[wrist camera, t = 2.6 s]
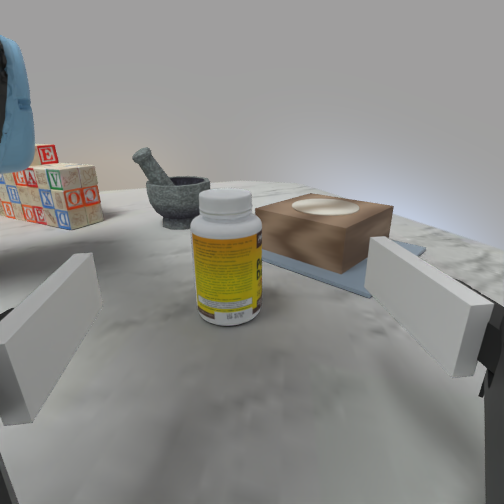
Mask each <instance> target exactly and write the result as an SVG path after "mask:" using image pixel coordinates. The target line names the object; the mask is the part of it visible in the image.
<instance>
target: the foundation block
mask: <svg viewBox="0 0 504 504" xmlns="http://www.w3.org/2000/svg"><path fill="white" fill-rule="evenodd" d="M392 213H393V206H390V205H383V204H377V203H370V202H364V201H357V200H351V199H344V198H338V197H331V196H325V195H318V194H312V193H310V194H307V195H303V196H299V197H296V198H292V199H288V200H285V201H281V202H277V203H274V204H270V205H266V206H263V207H259V208H255V215H256V216H258V217H259V218H260V220H261V222H262V249H264V250H267V251H270V252H273V253H276V254H279V255H282V256H285V257H288V258H291V259H295V260H298V261H301V262H304V263H307V264H310V265H313V266H316V267H319V268H322V269H326V270H329V271H332V272H335V273H338V274H343V273H344V272H346V271H347V270H349V269H350V268H352V267H353V266H355V265H357V264H358V263H360V262H361V261H363V260H364V259H366V258H367V257H368V251H369V243H370V237H381V236H385V237H387V238H389V232H390V226H391V220H392Z"/></svg>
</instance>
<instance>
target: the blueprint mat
mask: <svg viewBox="0 0 504 504" xmlns="http://www.w3.org/2000/svg"><path fill="white" fill-rule="evenodd" d="M392 241H393V242H395V243H397V244H398V245H400V246H401V247H403V248H405V249H406V250H408V251H410V252H411V253H413V254H414V255H416V256H420V255H421V254H422V253H423V252H424V251H425V250H426V247H421V246H417V245H412V244H408V243H403V242H399V241H394V240H392ZM367 259H368V257H367V258H366V259H364V260H363V261H361V262H360V263H358V264H357V265H355V266H353V267H352V268H350V269H349V270H347V271H346V272H344V273H343V274H338V273H335V272H332V271H329V270H326V269H322V268H319V267H316V266H313V265H310V264H307V263H304V262H301V261H298V260H295V259H291V258H288V257H285V256H282V255H279V254H276V253H273V252H270V251H267V250H264V249H262V261H265V262H268V263H271V264H274V265H276V266H279V267H282V268H285V269H288V270H291V271H294V272H296V273H299V274H302V275H305V276H308V277H311V278H313V279H316V280H319V281H322V282H325V283H328V284H330V285H333V286H336V287H339V288H342V289H345V290H347V291H350V292H353V293H356V294H359V295H362V296H364V297H367V298H370V297H371V296H372V295H371V294H370V293H369V292H368V291H367V289H366V288H365V287H364V284H365V276H366V267H367Z"/></svg>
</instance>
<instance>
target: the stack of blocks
mask: <svg viewBox="0 0 504 504" xmlns="http://www.w3.org/2000/svg"><path fill="white" fill-rule="evenodd" d="M97 184H98V182H97V176H96V171H95V166H94V165H82V164H69V163H59V162H58V157H57V153H56V149H55V145H54V144H35V154H34V159H33V162H32V164H31V165H30V166H29V167H28V168H27V169H25V170H23V171H20V172H13V173H5V174H0V216H5V217H9V218H13V219H18V220H22V221H29V222H34V223H39V224H44V225H49V226H54V227H59V228H63V229H68V230H73V229H77V228H80V227H83V226H87V225H90V224H94V223H97V222H100V221H103V220H104V219H103V213H102V208H101V204H100V203H101V201H100V196H99V190H98V186H97Z"/></svg>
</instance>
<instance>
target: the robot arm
mask: <svg viewBox="0 0 504 504" xmlns="http://www.w3.org/2000/svg"><path fill="white" fill-rule="evenodd" d="M30 103H31V101H30V90H29V84H28V78H27V73H26V69H25V64H24V60H23V56H22V53H21V50H20V48H19V46H18V45H17V43H16V42H15V41H13V40H11V39H8V38H5V37H3V36H2V35H0V174H5V173H13V172H20V171H23V170H25V169H27V168H28V167H29V166H30V165H31V164H32V162H33V159H34V154H35V135H34V122H33V113H32V109H31V107H30ZM364 287H365V288H366V289H367V291H368V292H369V293H370V294H371V295H372V296H373V297H374V298H375V299H376V300H377V301H378V302H379V303H380V304H381V305H382V306H383V307H384V308H385V309H386V310H387V311H388V312H389V313H390V314H391V315H392V316H393V317H394V318H395V319H396V321H397V322H398V323H399V324H400V325H401V326H402V327H403V328H404V329H405V330H406V331H407V332H408V333H409V334H410V335H411V336H412V337H413V338H414V339H415V340H416V341H417V342H418V343H419V344H420V345H421V346H422V347H423V348H424V349H425V351H426V352H427V353H428V354H429V355H430V356H431V357H432V358H433V359H434V360H435V361H436V362H437V363H438V364H439V365H440V366H441V367H442V368H443V369H444V370H445V371H446V372H447V373H448V374H449V375H450V376H451V377H452V378H457V377H467V376H473V375H474V372H475V368H476V365H477V361H479V362H481V363H482V364H483V365H484V366H485V367H486V368H487V370H486V374H485V377H484V380H483V383H482V387H481V390H480V393H479V397H482V398H483V396H484V408H485V488H486V504H504V307H503V306H501V305H500V304H498V303H496V302H495V301H493V300H491V299H490V298H488V297H487V296H485V295H483V294H481V293H480V292H478V291H477V290H475V289H472V287H470V286H468V285H467V284H465V283H464V282H462V281H459V280H457V279H454V278H452V277H450V276H448V275H447V274H445V273H444V272H442V271H440V270H439V269H437V268H435V267H434V266H432V265H431V264H429V263H427V262H426V261H424V260H423V259H421V258H419V257H418V256H416V255H414V254H413V253H411V252H410V251H408V250H406V249H405V248H403V247H401V246H400V245H398V244H397V243H395V242H393V241H392V240H390V239H389V238H387V237H385V236H381V237H370V243H369V251H368V259H367V267H366V276H365V284H364ZM102 308H103V301H102V297H101V292H100V287H99V282H98V277H97V273H96V268H95V263H94V258H93V254H92V253H76V254H73V255H72V256H71V257H70V258H69V259H68V260H67V261H66V262H65V263H64V264H62V265H61V266H60V267H59V268H58V269H57V270H56V271H55V272H54V273H53V274H52V275H50V276H49V277H48V278H47V279H46V280H45V281H44V282H43V283H42V284H41V285H39V286H38V287H37V288H36V289H35V290H34V291H33V292H32V293H31V294H30V295H29V296H27V297H26V298H25V299H24V300H23V301H22V302H21V303H20V304H19V305H18V306H16V307H15V308H11V309H9V310H7V311H5V312H3V313H2V314H0V417H1V419H2V422H3V424H4V426H7V425H16V424H26V423H33V421H34V419H35V418H36V416H37V415H38V413H39V411H40V410H41V408H42V406H43V405H44V403H45V401H46V400H47V398H48V396H49V395H50V393H51V391H52V390H53V388H54V387H55V385H56V383H57V382H58V380H59V378H60V377H61V375H62V373H63V372H64V370H65V368H66V367H67V365H68V364H69V362H70V360H71V359H72V357H73V355H74V354H75V352H76V350H77V349H78V347H79V345H80V344H81V342H82V340H83V339H84V337H85V336H86V334H87V332H88V331H89V329H90V327H91V326H92V324H93V322H94V321H95V319H96V317H97V316H98V314H99V312H100V311H101V309H102ZM0 504H19V503H18V500H17V498H16V495H15V492H14V489H13V487H12V484H11V481H10V478H9V476H8V473H7V470H6V467H5V465H4V462H3V459H2V456H1V454H0Z"/></svg>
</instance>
